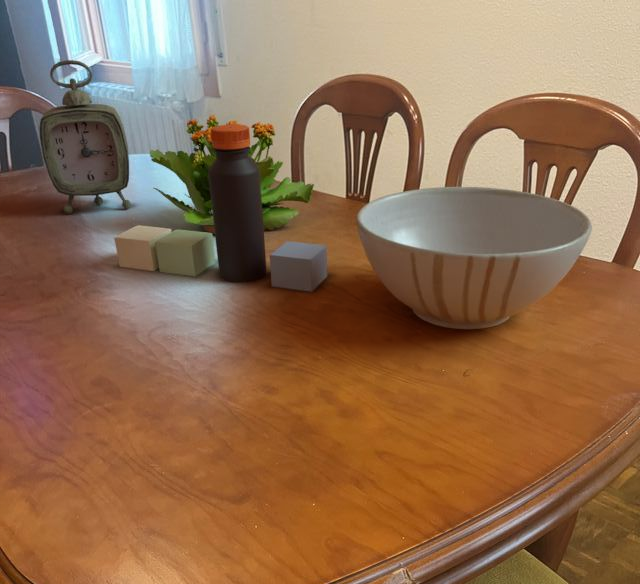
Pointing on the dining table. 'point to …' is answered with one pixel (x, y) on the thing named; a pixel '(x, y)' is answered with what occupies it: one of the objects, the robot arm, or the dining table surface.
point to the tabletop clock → (84, 145)
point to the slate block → (298, 266)
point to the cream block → (139, 247)
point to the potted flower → (197, 179)
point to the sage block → (185, 252)
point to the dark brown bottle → (236, 206)
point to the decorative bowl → (471, 250)
